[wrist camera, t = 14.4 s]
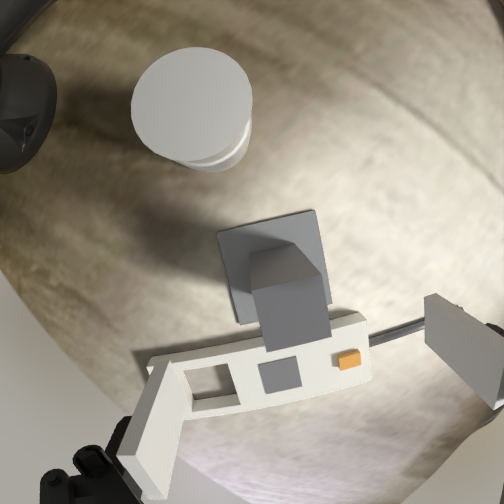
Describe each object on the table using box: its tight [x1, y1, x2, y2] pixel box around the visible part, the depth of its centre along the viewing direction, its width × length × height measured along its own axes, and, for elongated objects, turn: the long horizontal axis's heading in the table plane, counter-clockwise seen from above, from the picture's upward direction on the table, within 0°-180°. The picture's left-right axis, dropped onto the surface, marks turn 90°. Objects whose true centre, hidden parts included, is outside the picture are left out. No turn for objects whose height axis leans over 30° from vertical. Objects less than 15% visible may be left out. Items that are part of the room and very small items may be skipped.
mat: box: [216, 210, 332, 325], centre depth 33 cm, size 10×10×1 cm
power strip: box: [147, 307, 464, 420], centre depth 34 cm, size 38×8×3 cm, turn 103°
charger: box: [249, 243, 332, 352], centre depth 27 cm, size 5×5×12 cm
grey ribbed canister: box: [131, 47, 253, 173], centre depth 23 cm, size 7×7×15 cm
